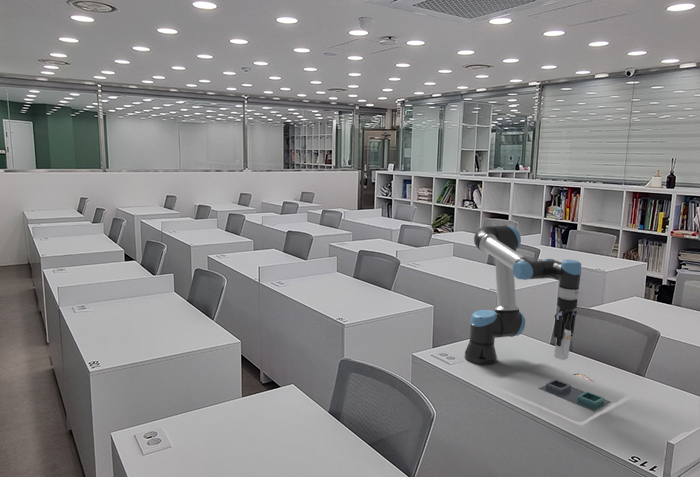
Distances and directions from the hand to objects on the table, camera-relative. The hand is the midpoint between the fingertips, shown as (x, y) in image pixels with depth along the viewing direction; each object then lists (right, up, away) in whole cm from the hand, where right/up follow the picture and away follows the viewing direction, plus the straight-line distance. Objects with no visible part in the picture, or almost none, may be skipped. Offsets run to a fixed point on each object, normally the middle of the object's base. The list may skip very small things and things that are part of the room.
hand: (561, 351), depth 216 cm
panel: (+4, -18, -3) cm, 19 cm away
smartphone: (+16, -17, +13) cm, 26 cm away
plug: (0, -3, 0) cm, 3 cm away
